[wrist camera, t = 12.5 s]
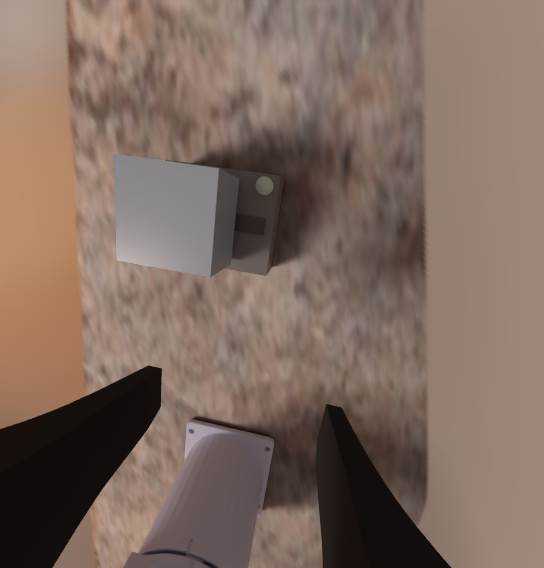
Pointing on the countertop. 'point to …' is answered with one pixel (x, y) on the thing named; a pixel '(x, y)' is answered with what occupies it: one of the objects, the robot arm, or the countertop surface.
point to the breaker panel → (255, 220)
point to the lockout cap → (174, 215)
